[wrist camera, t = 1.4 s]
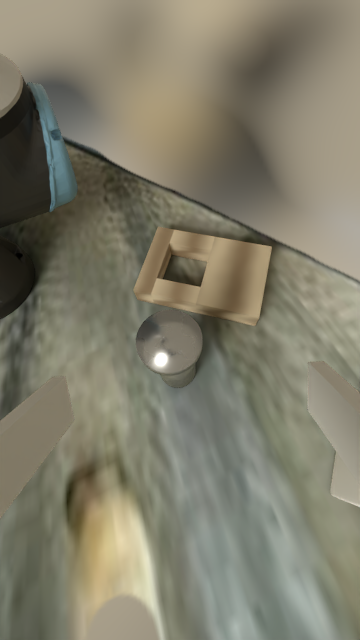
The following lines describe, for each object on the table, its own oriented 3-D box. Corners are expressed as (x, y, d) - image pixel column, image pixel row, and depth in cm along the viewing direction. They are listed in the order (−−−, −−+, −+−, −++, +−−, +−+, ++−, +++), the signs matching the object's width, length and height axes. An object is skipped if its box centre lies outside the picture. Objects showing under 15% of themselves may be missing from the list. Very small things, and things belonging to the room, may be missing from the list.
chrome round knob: (148, 387, 37) (126, 363, 25) (162, 343, 39) (147, 303, 28) (194, 399, 36) (193, 380, 24) (206, 353, 38) (209, 317, 27)
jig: (137, 299, 42) (133, 289, 39) (160, 239, 47) (158, 226, 44) (255, 325, 39) (259, 317, 36) (267, 258, 44) (271, 246, 41)
